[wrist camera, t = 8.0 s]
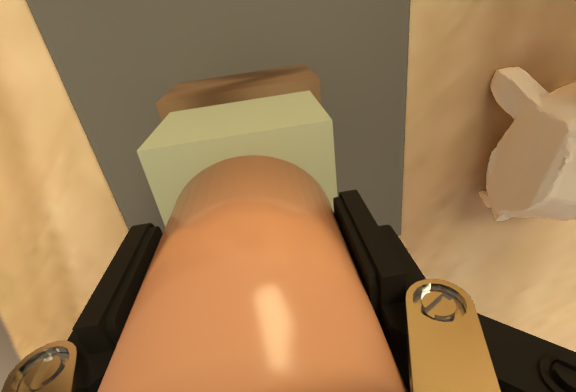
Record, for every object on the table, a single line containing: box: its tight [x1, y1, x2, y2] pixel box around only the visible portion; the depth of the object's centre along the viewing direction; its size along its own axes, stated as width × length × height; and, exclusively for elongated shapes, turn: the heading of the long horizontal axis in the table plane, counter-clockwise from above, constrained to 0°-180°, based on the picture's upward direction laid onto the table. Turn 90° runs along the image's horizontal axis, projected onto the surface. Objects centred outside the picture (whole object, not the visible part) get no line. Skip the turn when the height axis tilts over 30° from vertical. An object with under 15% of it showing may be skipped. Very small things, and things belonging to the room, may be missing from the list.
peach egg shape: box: [98, 155, 407, 392], centre depth 9 cm, size 6×6×7 cm
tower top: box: [137, 90, 338, 227], centre depth 15 cm, size 6×6×5 cm
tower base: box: [156, 64, 322, 121], centre depth 19 cm, size 8×8×5 cm
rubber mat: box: [26, 0, 410, 236], centre depth 21 cm, size 20×20×1 cm
